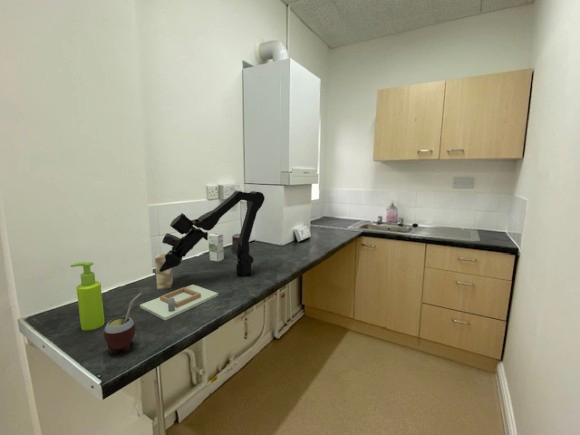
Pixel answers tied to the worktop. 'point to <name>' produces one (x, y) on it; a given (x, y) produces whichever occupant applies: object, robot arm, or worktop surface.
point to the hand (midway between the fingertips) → (163, 267)
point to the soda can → (235, 238)
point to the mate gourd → (120, 332)
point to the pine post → (163, 273)
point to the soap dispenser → (89, 299)
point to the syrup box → (216, 247)
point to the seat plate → (178, 301)
